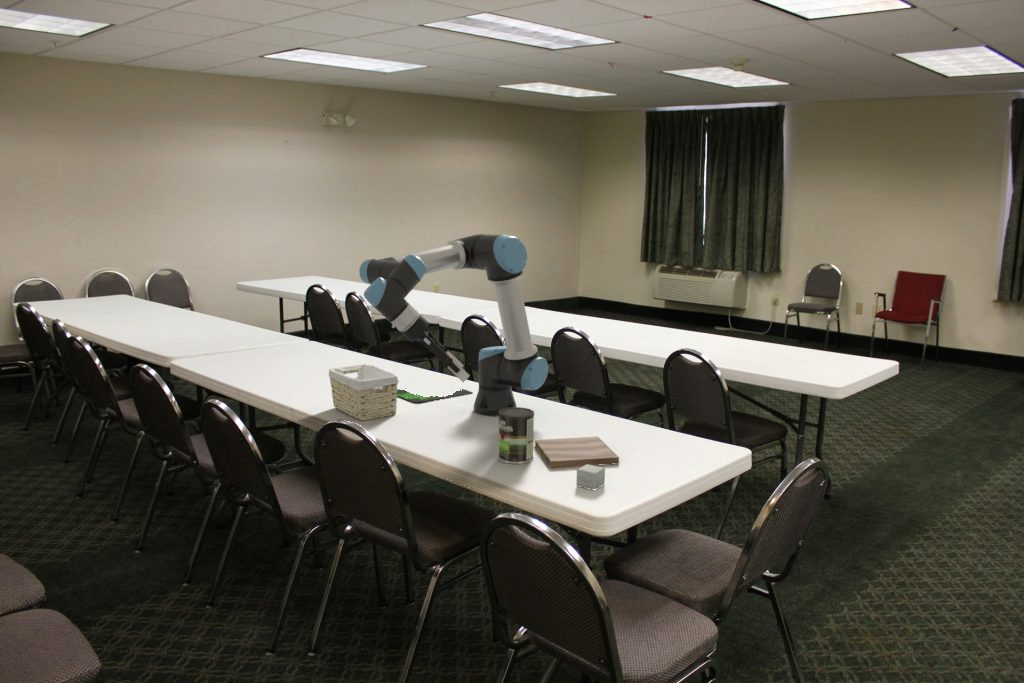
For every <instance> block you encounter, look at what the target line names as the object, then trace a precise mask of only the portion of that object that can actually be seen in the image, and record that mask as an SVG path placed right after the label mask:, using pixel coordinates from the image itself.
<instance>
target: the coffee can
mask: <svg viewBox="0 0 1024 683" xmlns="http://www.w3.org/2000/svg"><path fill="white" fill-rule="evenodd" d="M534 416H535V411H534V410H532V409H531V408H526V407H521V406H520V407H517V406H516V407H511V408H504V409H501V410H500V411H499V416H498V456H497V458H498V460H499V462H501V463H505V464H510V465H524V464H528V463H531V462H532V461H533V460H534V424H535V422H534V419H535V417H534Z"/></svg>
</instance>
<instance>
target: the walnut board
mask: <svg viewBox="0 0 1024 683" xmlns="http://www.w3.org/2000/svg"><path fill="white" fill-rule="evenodd" d="M534 443H535V444H534V447H535V448H536V450H537V451H538V452H539V454H540V455H541V456H542V458H543V459H544V461H545V462H546V463H547V465H548V466H549V467H550V469H559V468H560V467H562V468H575V467H574V466H578V467H583V466H584V465H586V464H588V465H594V466H600V465H599V464H610V465H613V464H612V463H619V464H620V457H619V456H618V455H617V454H616V453H615V451H613V450H612V449H611V447H609V446H608V445H607V444H606V442H604V440H602V439H601V438H600V437H599V436H586V437H585V436H584V437H583V436H582V437H567V438H566V437H565V438H549V439H535V440H534Z"/></svg>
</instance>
